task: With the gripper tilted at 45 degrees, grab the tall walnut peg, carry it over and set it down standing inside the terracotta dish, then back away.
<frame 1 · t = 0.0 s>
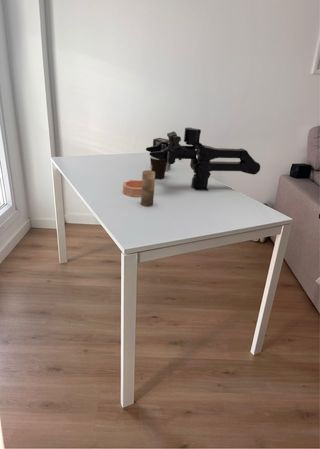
hand: (147, 151, 137), 17 cm above the table, tool horizontal, fingers open, 9 cm apart
walnut peg: (147, 204, 127), on the table
terracotta dish: (137, 192, 139), on the table
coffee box: (160, 169, 174), on the table
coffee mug: (158, 176, 162), on the table
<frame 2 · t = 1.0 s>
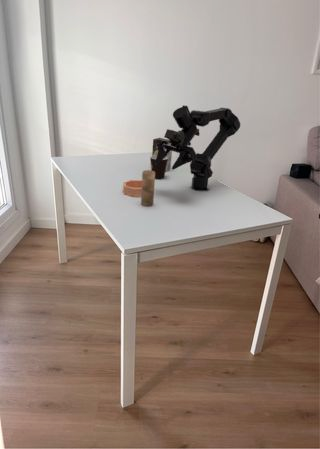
hand: (163, 166, 127), 14 cm above the table, tool tilted 45°, fingers open, 9 cm apart
nothing on the table moved.
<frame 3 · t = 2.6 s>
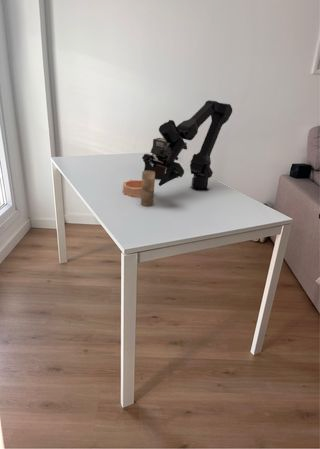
hand: (150, 182, 124), 9 cm above the table, tool tilted 45°, fingers open, 9 cm apart
nothing on the table moved.
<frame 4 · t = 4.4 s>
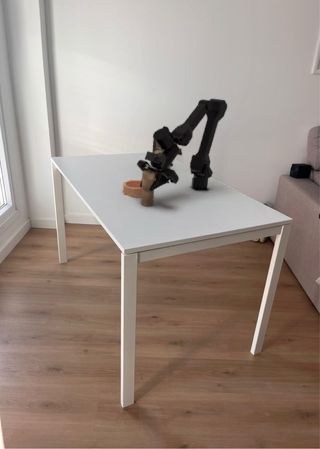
hand: (145, 188, 123), 7 cm above the table, tool tilted 45°, fingers closed on walnut peg, 5 cm apart
walnut peg: (147, 204, 127), on the table, touching gripper
everything else where it was.
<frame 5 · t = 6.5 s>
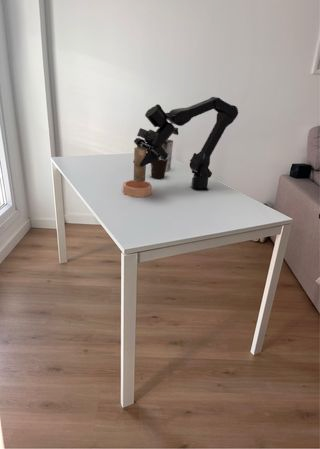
hand: (137, 164, 128), 13 cm above the table, tool tilted 45°, fingers closed on walnut peg, 5 cm apart
walnut peg: (139, 180, 132), point 7 cm above the table, touching gripper
everything else where it was.
when the fingers open (9 cm above the table, at t = 8.8 s): walnut peg drops 1 cm, resting on terracotta dish.
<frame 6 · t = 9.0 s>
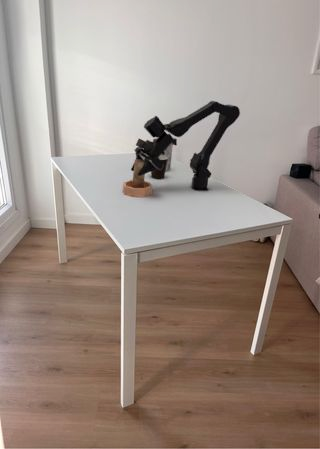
hand: (134, 172, 134), 9 cm above the table, tool tilted 45°, fingers open, 7 cm apart
walnut peg: (137, 190, 138), point 1 cm above the table, touching terracotta dish
everything else where it was.
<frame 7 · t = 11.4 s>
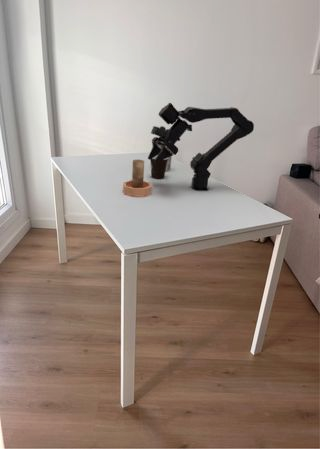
hand: (151, 160, 136), 13 cm above the table, tool tilted 40°, fingers open, 9 cm apart
nothing on the table moved.
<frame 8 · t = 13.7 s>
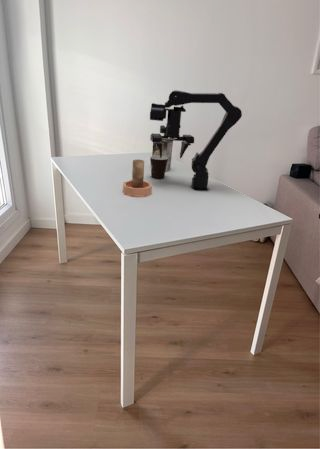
hand: (170, 157, 144), 13 cm above the table, tool pointing down, fingers open, 9 cm apart
nothing on the table moved.
at the end: walnut peg 0.1 cm off-centre on the terracotta dish, point 0.6 cm above the terracotta dish's base; walnut peg tilted 0°; the gripper is holding nothing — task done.
